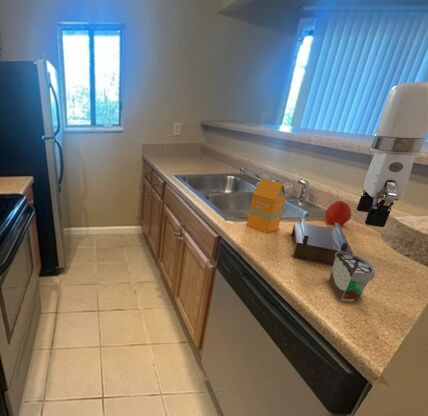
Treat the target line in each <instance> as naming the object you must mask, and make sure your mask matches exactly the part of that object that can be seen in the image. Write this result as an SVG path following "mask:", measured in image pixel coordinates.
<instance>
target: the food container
mask: <svg viewBox="0 0 428 416" xmlns="http://www.w3.org/2000/svg"><path fill="white" fill-rule="evenodd" d="M375 275H376V270H375V267H374V265H373V263H371V262H370V261H368V260H366V259H365V258H362V257H360V256H358V255H355V254H354V253H353V254H350V253H346V252H342V251H337V252H336V254H335V260H334V264H333V266H332V267H331V271H330V274H329V278H328V282H329V283H330V286H331V287H332V289H333V290H334V292H335V294H336V296H337V297H338V299H339V300H340V302H341V303H355V302H358V301H359V299H360V297H361V296H362V294H363V292H364V290H365V288H366V287H367V285H368V283H369V282H371V281H374V279H375V278H376V277H375Z"/></svg>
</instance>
